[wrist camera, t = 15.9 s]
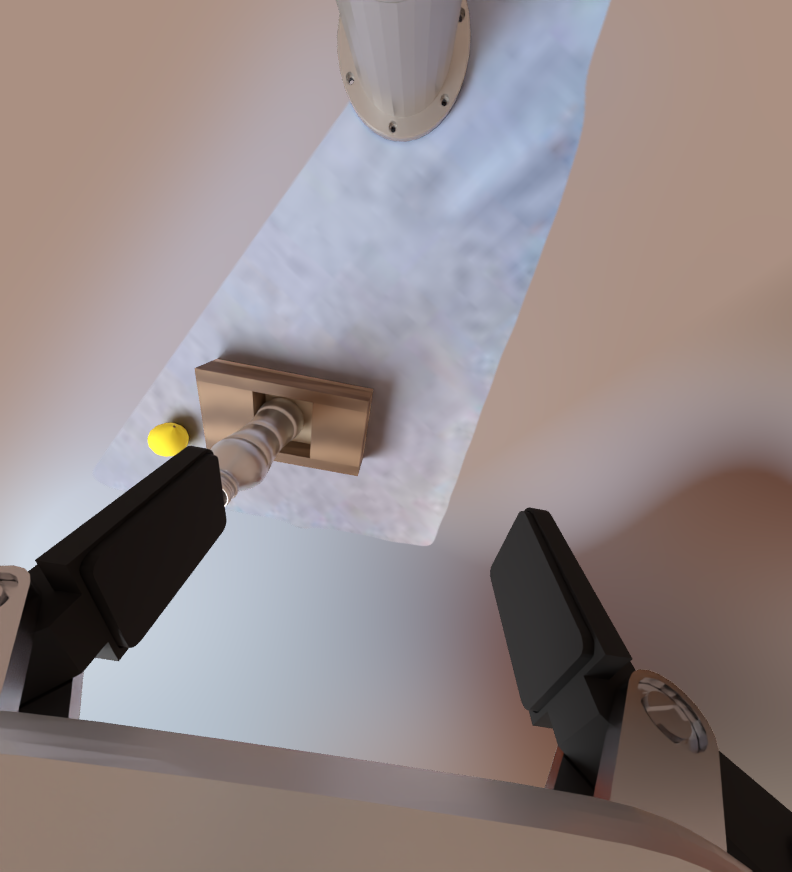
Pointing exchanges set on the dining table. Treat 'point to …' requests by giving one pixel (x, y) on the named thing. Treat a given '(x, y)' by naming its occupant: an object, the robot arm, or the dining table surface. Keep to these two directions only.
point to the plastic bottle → (256, 446)
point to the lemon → (168, 439)
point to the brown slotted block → (316, 398)
